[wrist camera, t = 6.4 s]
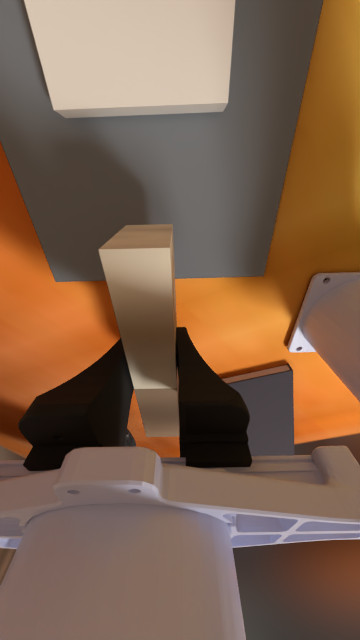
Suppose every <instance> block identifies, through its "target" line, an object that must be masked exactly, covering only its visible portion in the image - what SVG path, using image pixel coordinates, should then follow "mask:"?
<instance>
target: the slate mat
mask: <svg viewBox="0 0 360 640" xmlns="http://www.w3.org/2000/svg"><path fill="white" fill-rule="evenodd" d="M322 4H323V0H235V13H234V27H233V41H232V54H231V68H230V82H229V96H228V104H227V106H226V107H225V109H224V111H223V112H206V113H181V114H157V115H132V116H108V117H83V118H65V117H63V116H62V115H60V114H59V113H57V112H56V111H54V110H53V106H52V102H51V99H50V95H49V91H48V87H47V84H46V80H45V76H44V73H43V69H42V65H41V61H40V58H39V54H38V50H37V47H36V43H35V39H34V35H33V32H32V28H31V24H30V21H29V17H28V13H27V9H26V6H25V2H24V0H0V141H1V144H2V146H3V149H4V152H5V154H6V157H7V159H8V162H9V164H10V167H11V169H12V172H13V174H14V177H15V179H16V182H17V185H18V187H19V190H20V192H21V195H22V197H23V200H24V202H25V205H26V207H27V210H28V212H29V215H30V218H31V220H32V223H33V225H34V228H35V230H36V233H37V235H38V238H39V240H40V243H41V245H42V248H43V251H44V253H45V256H46V258H47V261H48V263H49V266H50V268H51V271H52V273H53V276H54V279H55V281H56V282H70V281H106V277H105V273H104V270H103V266H102V262H101V258H100V254H99V250H98V249H99V248H101V247H102V246H103V245H104V244H105V243H106V242H107V241H109V240H110V239H111V238H112V237H113V236H114V235H115V234H117V233H118V232H119V231H120V230H121V229H122V228H123V227H125V226H126V225H154V224H173V244H174V270H175V279H180V278H216V277H253V276H264V272H265V268H266V263H267V259H268V254H269V249H270V245H271V240H272V236H273V231H274V226H275V222H276V217H277V212H278V208H279V203H280V199H281V194H282V189H283V185H284V180H285V175H286V171H287V166H288V162H289V157H290V152H291V148H292V143H293V138H294V134H295V129H296V125H297V120H298V115H299V111H300V106H301V101H302V97H303V92H304V88H305V83H306V78H307V74H308V69H309V64H310V60H311V55H312V51H313V46H314V41H315V37H316V32H317V27H318V23H319V18H320V14H321V9H322Z"/></svg>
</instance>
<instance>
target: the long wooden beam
mask: <svg viewBox="0 0 360 640" xmlns="http://www.w3.org/2000/svg"><path fill="white" fill-rule="evenodd" d="M98 250H99V254H100V258H101V262H102V266H103V270H104V273H105V277H106V281H107V285H108V289H109V293H110V297H111V301H112V305H113V308H114V312H115V316H116V320H117V324H118V328H119V332H120V336H121V340H122V343H123V347H124V351H125V355H126V359H127V363H128V367H129V371H130V375H131V378H132V382H133V386H134V390H135V394H136V398H137V402H138V406H139V410H140V414H141V417H142V421H143V425H144V429H145V433H146V437H170V436H179V405H178V390H179V379H178V369H177V350H176V327H177V321H176V295H175V270H174V244H173V224H154V225H126V226H125V227H123V228H122V229H121V230H120V231H119V232H118V233H117V234H115V235H114V236H113V237H112V238H111V239H110V240H109V241H107V242H106V243H105V244H104V245H103V246H102V247H101V248H99V249H98Z"/></svg>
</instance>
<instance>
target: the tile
mask: <svg viewBox="0 0 360 640" xmlns="http://www.w3.org/2000/svg"><path fill="white" fill-rule="evenodd" d="M24 2H25V6H26V9H27V13H28V17H29V21H30V24H31V28H32V32H33V35H34V39H35V43H36V47H37V50H38V54H39V58H40V61H41V65H42V69H43V73H44V76H45V80H46V84H47V87H48V91H49V95H50V99H51V102H52V106H53V110H54V111H56V112H57V113H59V114H60V115H62V116H63V117H65V118H83V117H108V116H132V115H157V114H181V113H206V112H223V111H224V109H225V107H226V106H227V104H228V96H229V82H230V68H231V54H232V41H233V27H234V13H235V0H24Z"/></svg>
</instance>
